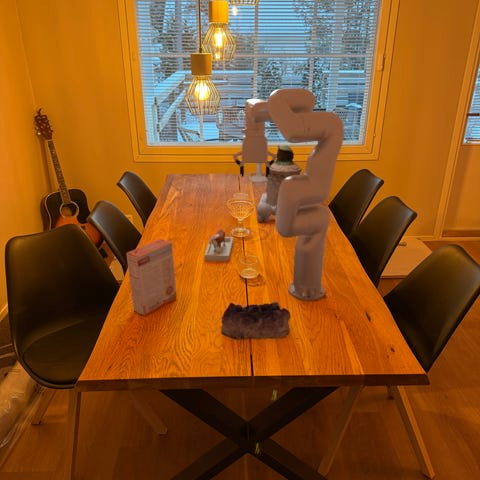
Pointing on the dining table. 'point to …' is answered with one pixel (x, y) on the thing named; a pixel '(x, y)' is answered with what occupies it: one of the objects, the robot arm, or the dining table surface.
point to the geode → (255, 321)
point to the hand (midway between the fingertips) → (254, 176)
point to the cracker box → (152, 276)
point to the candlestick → (258, 175)
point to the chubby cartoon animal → (265, 212)
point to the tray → (225, 250)
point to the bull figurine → (218, 239)
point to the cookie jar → (279, 174)
